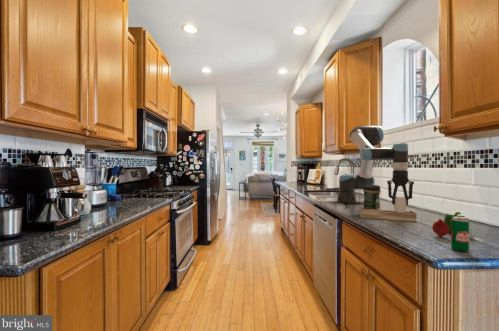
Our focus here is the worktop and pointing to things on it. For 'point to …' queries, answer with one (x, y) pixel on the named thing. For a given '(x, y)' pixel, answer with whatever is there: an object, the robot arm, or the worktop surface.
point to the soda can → (460, 234)
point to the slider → (400, 204)
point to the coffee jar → (371, 197)
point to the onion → (440, 228)
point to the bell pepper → (448, 219)
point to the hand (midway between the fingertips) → (399, 210)
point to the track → (388, 214)
